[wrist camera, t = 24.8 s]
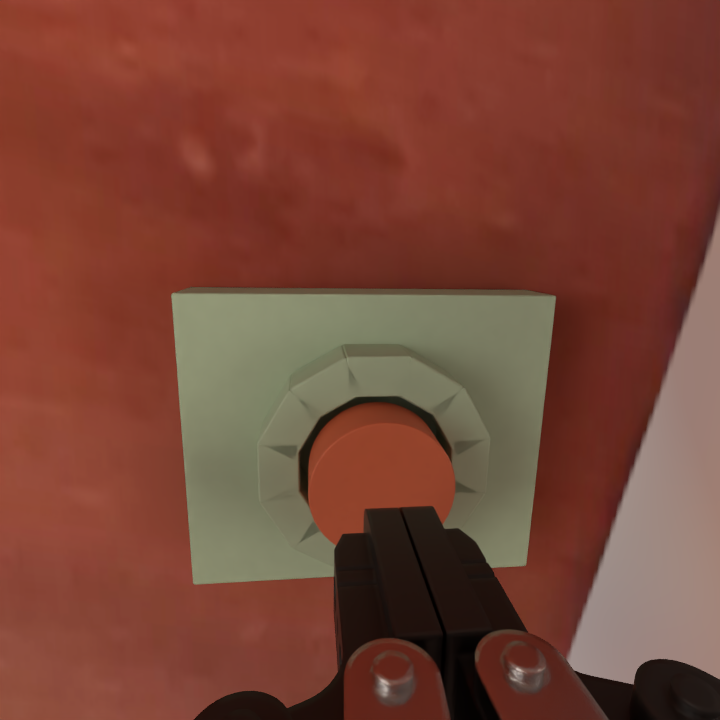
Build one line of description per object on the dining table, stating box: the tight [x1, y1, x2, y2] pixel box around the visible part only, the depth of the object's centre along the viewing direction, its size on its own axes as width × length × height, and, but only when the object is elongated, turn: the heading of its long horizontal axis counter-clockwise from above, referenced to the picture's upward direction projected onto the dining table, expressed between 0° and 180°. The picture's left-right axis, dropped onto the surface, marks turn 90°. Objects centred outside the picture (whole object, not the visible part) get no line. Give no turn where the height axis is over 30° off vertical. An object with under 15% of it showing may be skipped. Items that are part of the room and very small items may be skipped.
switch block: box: [171, 287, 556, 584], centre depth 16 cm, size 12×10×4 cm
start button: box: [308, 402, 455, 545], centre depth 13 cm, size 4×4×2 cm
